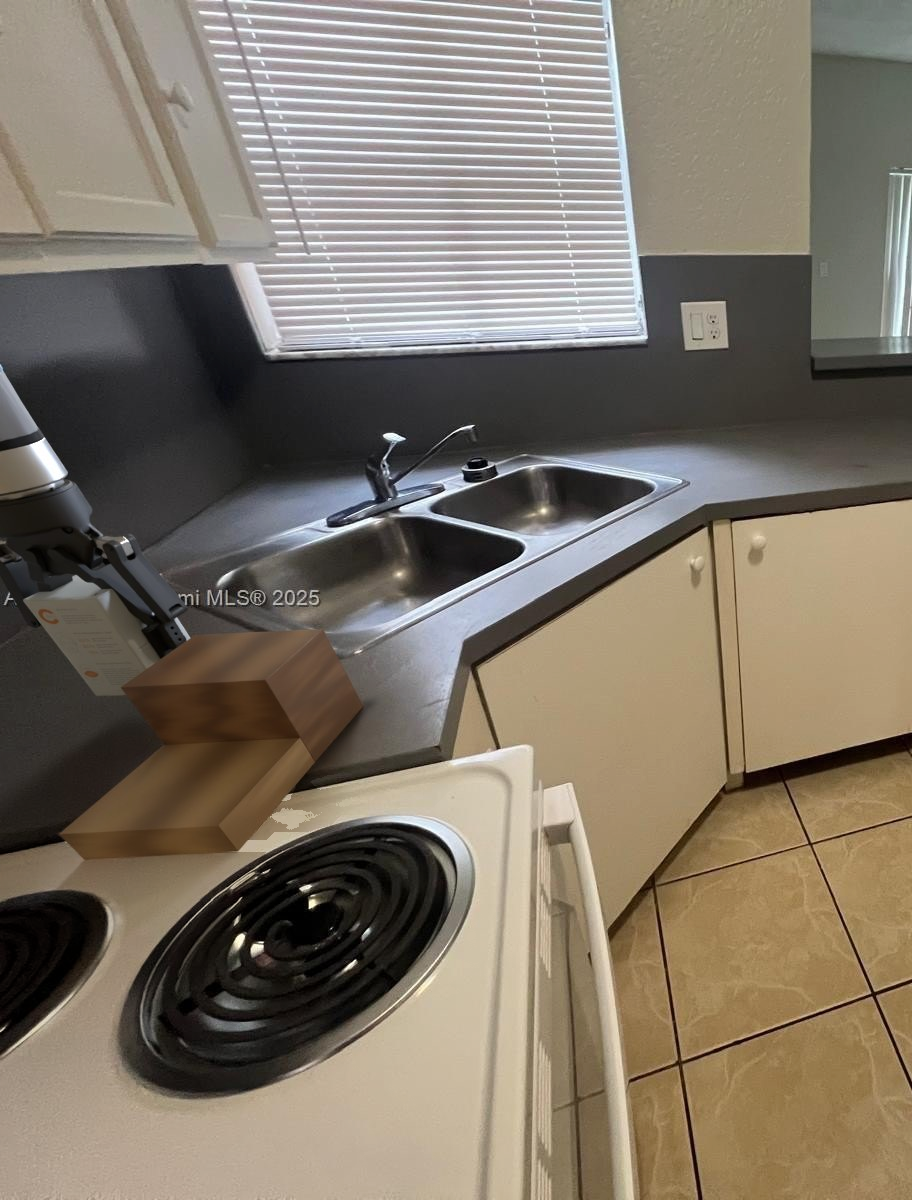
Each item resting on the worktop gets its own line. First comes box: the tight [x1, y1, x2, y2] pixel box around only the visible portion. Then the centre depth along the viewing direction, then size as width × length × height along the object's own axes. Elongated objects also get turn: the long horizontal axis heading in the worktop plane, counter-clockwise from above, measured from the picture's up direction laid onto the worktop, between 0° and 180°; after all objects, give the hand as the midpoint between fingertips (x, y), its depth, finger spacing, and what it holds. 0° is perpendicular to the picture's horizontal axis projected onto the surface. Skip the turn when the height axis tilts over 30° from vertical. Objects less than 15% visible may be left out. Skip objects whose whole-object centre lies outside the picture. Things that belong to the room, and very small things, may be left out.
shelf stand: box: [58, 628, 364, 860], centre depth 62 cm, size 14×20×11 cm
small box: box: [23, 575, 191, 697], centre depth 71 cm, size 8×6×13 cm
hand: (147, 670), depth 74 cm, fingers closed on small box, 8 cm apart
